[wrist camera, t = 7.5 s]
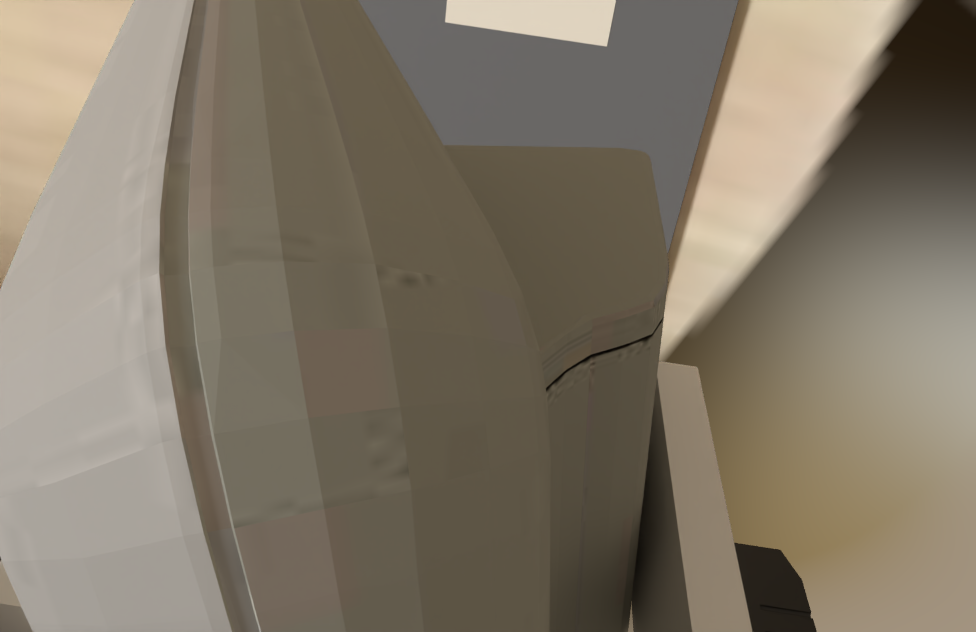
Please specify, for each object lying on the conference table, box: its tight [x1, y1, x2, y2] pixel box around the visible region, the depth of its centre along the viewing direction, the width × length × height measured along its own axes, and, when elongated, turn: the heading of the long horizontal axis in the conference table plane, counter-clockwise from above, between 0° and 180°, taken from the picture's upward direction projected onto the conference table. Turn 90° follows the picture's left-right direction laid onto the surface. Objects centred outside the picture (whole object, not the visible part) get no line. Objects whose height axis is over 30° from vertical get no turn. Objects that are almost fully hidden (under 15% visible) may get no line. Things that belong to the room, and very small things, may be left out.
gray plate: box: [358, 0, 738, 253], centre depth 27 cm, size 19×12×1 cm, turn 173°
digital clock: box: [0, 0, 669, 632], centre depth 11 cm, size 16×9×11 cm, turn 170°
